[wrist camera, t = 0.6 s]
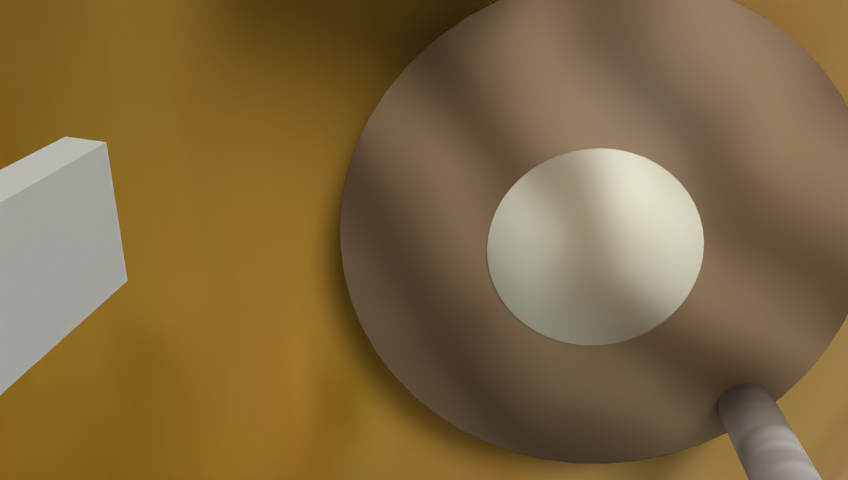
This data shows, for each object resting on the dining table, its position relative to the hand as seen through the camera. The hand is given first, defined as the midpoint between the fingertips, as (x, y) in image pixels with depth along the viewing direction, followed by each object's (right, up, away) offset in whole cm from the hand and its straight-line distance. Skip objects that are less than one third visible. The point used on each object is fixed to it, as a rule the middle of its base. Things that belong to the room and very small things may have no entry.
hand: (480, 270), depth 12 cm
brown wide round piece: (+7, +1, +21) cm, 22 cm away
